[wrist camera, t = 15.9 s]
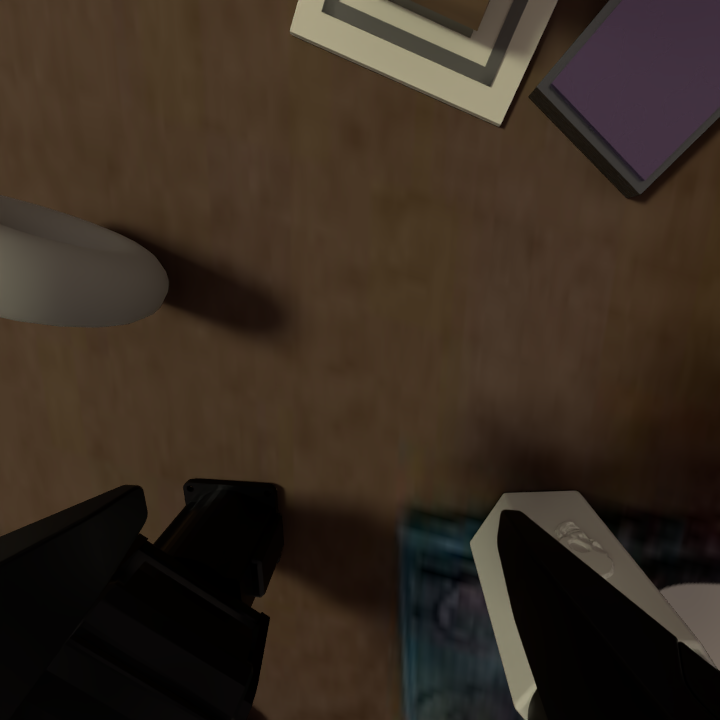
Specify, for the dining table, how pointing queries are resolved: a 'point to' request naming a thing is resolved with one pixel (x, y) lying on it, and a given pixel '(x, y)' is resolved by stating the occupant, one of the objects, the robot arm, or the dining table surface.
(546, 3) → the print card
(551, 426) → the dining table surface
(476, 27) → the stamp
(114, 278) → the donut
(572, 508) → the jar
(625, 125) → the ink pad
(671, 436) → the dining table surface
